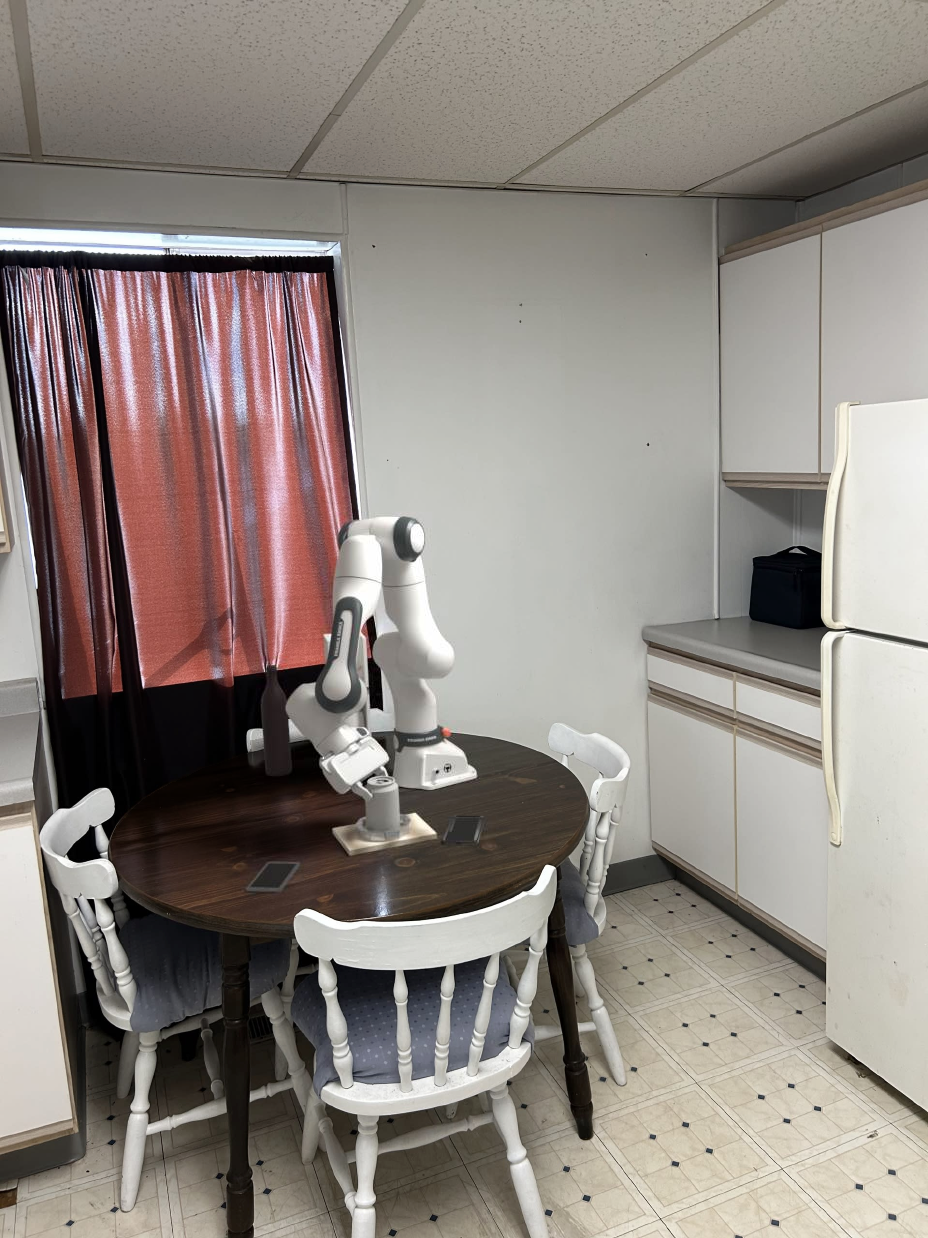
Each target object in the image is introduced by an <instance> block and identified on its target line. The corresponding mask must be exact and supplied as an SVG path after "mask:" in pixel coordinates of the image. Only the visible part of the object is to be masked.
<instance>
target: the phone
mask: <svg viewBox="0 0 928 1238" xmlns="http://www.w3.org/2000/svg"><path fill="white" fill-rule="evenodd" d="M485 822H486V820H485V816H483V815H453V816H451V818H450V821H449V823H448V824H447V828H446V830H445V833H444V835H443V837H442V843H443V845H448V846H449V845H452V846H453V845H454V846H455V845H456V846H457V845H458V846H461V845H462V846H475V845H477V844H479V842H480V838H481V834H482V831H483V828H484V825H485Z"/></svg>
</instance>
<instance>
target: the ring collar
mask: <svg viewBox="0 0 928 1238" xmlns="http://www.w3.org/2000/svg"><path fill="white" fill-rule="evenodd" d="M355 824H356V834H357V835H358V836H359V837H360V838H361V839H365V840H368V841H383V842H385V841H391V840H396V839H400V838H402V837H404V836H406V835H408V834H409V833H410V831H411V819H410V818H409V817H408V816H407V815H406V814H403V813H400V824H402V825H403V826H401V827H399V828H397V829H393V830H388V831H371V830H368V829H364V828H365V827H367V823H366V815H365V816H363V817H361V818H358V820H357V822H356V823H355Z"/></svg>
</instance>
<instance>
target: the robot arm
mask: <svg viewBox="0 0 928 1238" xmlns="http://www.w3.org/2000/svg"><path fill="white" fill-rule="evenodd" d="M336 542H337V549H338V551H339V553H338V556H337V561H336V563H335V564H336V565H335V570H334V575H333V576H334V577H333V584H332V618H333V619H332V628H331V633H330V634H331V640H330V646H329V653H328V658H327V662H326V665H325V664H324V667H323V669H322V670H321V672H320V674H319V675H318V678H317V679H316V681H315V682H311V683H302V684H300V685H299V686H297V688H295V689H294V690H293V691H292V693H291V694H290V696H289V697H288V698H287V703H286V712H287V714H288V719H290V721H291V722H292V723H293V725H294V726H295V728H297V730H298V731H299V732H300V733H301V735H302V736H304V737H305V738H306V739H308V740H309V741H310V742H311V744H312V745H313V747H314V749H315V750H316V752H318V754H319V755H320V758H319V768H320V769H322V773H323V775H324V777H325V778H326V780H327V781H328V783H329V784H330V785H331V787H332V788H333V790H334V791H336V792H337V793H338V794H341V795H344V794H346V793H347V792H348V791H350V790H351V791H352V792H353V793H354V794H356V795H358V796H360V797H362V798H363V800H364V801H365V800H366V801H367V802H368V801H370V800H371V799H372V798H373V797H374V794H373V793H372V791H371V790H367V789H365V786H363V783H362V782H363V781H364V780H366V779H368V778H369V777H370V776H372V775H373V774H375V776H376V777H377V776H389V774H388V771H387V769H386V768H385V765H386V764H387V763H388V762H389V761H390V757H389V755H388V752H386V750H385V749H384V748H383V747H382V746H381V744H379V743H378V741H377V740H376V739H375V738H374V737H372V736H371V737H370V736H368V735H369V731H368V730H367V729H366V728H364V727H349V726H348V725H347V724H346V723H345V722H344V719H346V718H347V717H349V716H351V715H352V714H354V713H356V712H358V711H359V710H360V709H361V708H362V707H363V706H364V704H365V702H366V700H367V695H368V693H367V688H366V685H365V683H364V682H363V681H362V680H361V679H360V678H359V677H358V675H357V671H356V660H357V653H358V646H359V639H360V633H362V629H363V626H365V625H364V624H365V623H366V622H367V620H369V619H370V618H371V617H373V615H374V614H375V613H376V611H377V607H378V604H379V601H380V595H381V590H382V595H383V603H384V610H385V614H386V616H387V617H388V618H387V619H389V620H390V621H391V622H392V624H394V626H395V628H396V630H397V631H391V632H390V631H389V632H385V633H383V634H380V635H379V636H378V637H377V638H376V640H375V641H374V644H373V647H372V658H373V660H374V662H375V664H376V665H377V666H378V667H379V668H380V670H381V671H382V672H383V673H382V674H383V675H384V677H385V679H386V682H387V684H388V687H389V690H390V693H391V698H392V703H393V713H394V726H395V727H393V747H394V750H395V757H394V767H393V773H392V776H391V777H393V778H394V779H395V783H397V784H398V787H401V788H402V787H403V788H408V789H421V790H426V791H433V790H436V789H440V788H444V787H447V786H451V785H455V784H460V783H463V782H467V781H471V780H474V779H477V777H478V774H477V770H476V769H475V768H474V767H473V766H472V765H470V764H468V759H467V756H466V754H465V752H464V751H463V750H462V749H461V748H459V747H458V746H457V745H455V744H454V743H452V742H451V741H449V740H448V739H446V738H450V736H451V735H452V732H451V730H450V729H449V728H447V727H443V726H441V725H440V724H438V713H437V712H438V711H437V707H438V706H437V698H436V696H435V694H434V693H433V691H432V690H431V689H430V687H429V686H428V685H427V682H426V680H438V679H439V680H440V679H443V678H446V677H448V675H449V674H450V673H451V672H452V670H453V668H454V666H455V659H456V658H455V657H456V655H455V651H454V648H453V646H452V645H451V644H450V643H449V642H448V641H447V640H446V639H445V638H444V636H443V635H442V634H441V632H440V629H439V628H438V626H437V624H436V622H435V620H434V617H433V615H432V612H431V608H430V605H429V604H430V603H429V598H428V597H429V596H428V591H427V583H426V576H425V570H424V565H423V560H422V557H421V555H422V553H423V551H424V549H425V544H426V534H425V530H424V527H423V525H422V524H421V523H420V522H419V521H418V520H417V518H414V517H409V516H400V517H399V516H378V517H372V518H365V519H353V520H349V521H347V522H345V523H344V524H343V525H342V526H341V528H340V529H339V531H338V534H337V541H336Z"/></svg>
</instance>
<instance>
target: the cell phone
mask: <svg viewBox="0 0 928 1238" xmlns="http://www.w3.org/2000/svg"><path fill="white" fill-rule="evenodd" d="M300 867H301V862H299V861H274V860H273V861H267V862H266V863H265V864H264V865H263V867H262V868H261V870H260V871H259V872H258V873H257V875H256V876H254V878H253V880H252V881H251V882H250V883H249V884H248V885H247V886H246V888H245V892H246V893H256V894H259V893H260V894H280V893H281V892H282V891H283V890H284V888H285V887H286V885H287V884H288V883H289V881H290V880H291V879H292V877H293V876H294V874H295V873H296V872H297V870H298V869H299V868H300Z"/></svg>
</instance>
